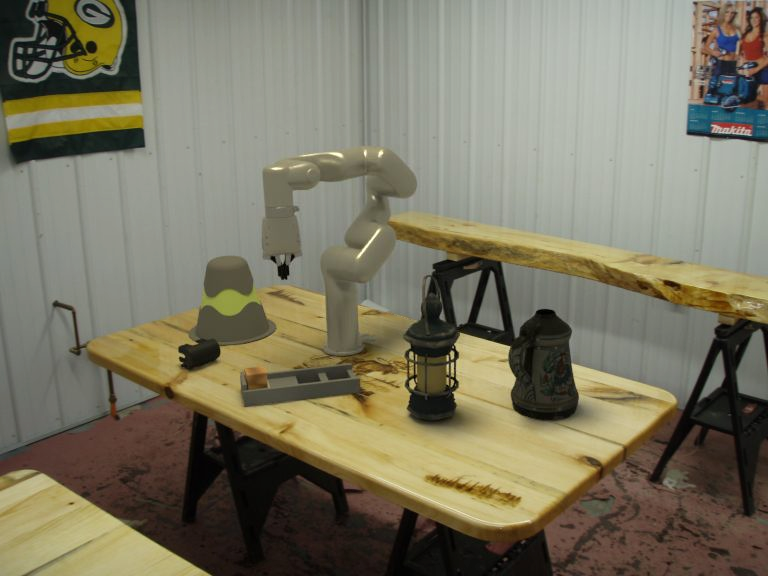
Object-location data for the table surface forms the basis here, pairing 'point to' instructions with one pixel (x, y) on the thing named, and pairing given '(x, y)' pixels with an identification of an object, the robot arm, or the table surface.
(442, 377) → the lantern
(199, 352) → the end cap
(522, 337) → the beer stein
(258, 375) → the orange block
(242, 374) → the tray
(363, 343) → the robot arm
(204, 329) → the grey bell cover
